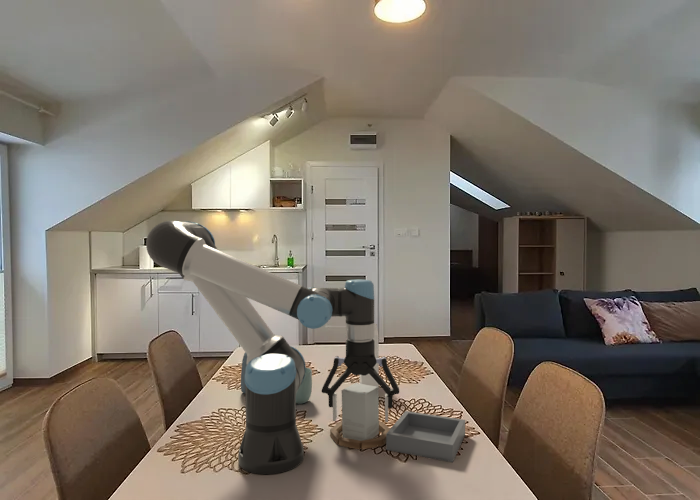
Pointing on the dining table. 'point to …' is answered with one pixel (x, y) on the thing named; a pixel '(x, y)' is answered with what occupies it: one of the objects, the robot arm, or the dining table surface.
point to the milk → (367, 378)
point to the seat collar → (356, 443)
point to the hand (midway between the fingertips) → (360, 419)
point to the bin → (426, 436)
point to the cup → (305, 388)
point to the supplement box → (360, 412)
